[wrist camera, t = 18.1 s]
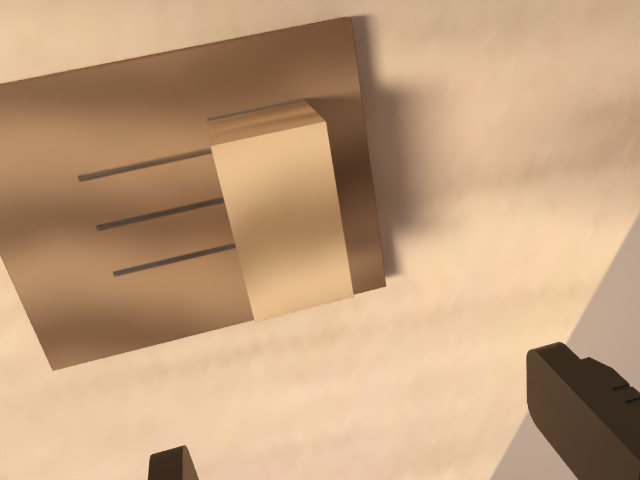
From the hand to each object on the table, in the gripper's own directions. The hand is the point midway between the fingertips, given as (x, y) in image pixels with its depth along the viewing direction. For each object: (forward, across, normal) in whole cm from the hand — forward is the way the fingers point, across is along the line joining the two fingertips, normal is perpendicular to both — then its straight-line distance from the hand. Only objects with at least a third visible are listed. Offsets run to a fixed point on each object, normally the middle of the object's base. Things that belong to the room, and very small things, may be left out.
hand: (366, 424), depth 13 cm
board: (+18, +4, 0) cm, 18 cm away
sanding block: (+17, 0, 0) cm, 17 cm away
